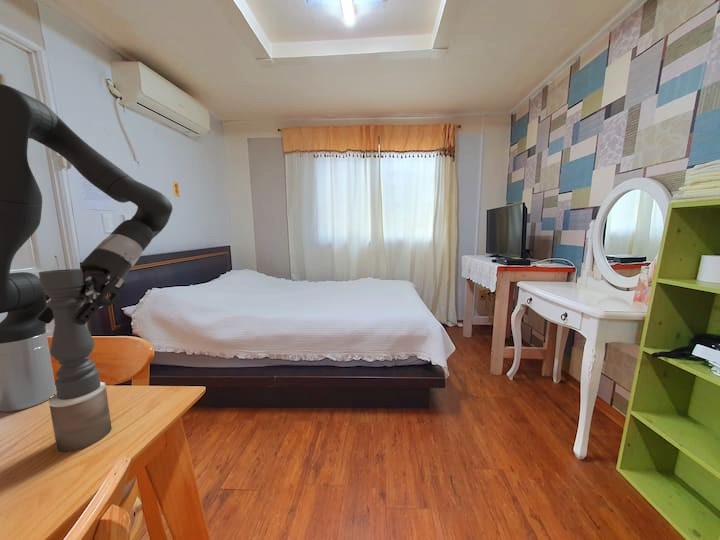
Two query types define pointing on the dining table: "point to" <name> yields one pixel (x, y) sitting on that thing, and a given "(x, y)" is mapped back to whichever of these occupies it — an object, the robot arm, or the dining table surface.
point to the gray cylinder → (80, 420)
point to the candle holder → (70, 334)
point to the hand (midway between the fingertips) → (59, 322)
